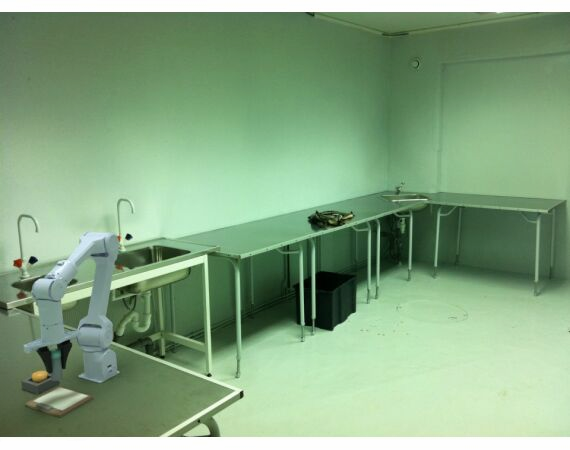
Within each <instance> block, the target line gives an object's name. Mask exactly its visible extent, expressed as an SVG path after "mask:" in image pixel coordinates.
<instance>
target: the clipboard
mask: <svg viewBox="0 0 570 450" xmlns="http://www.w3.org/2000/svg"><path fill="white" fill-rule="evenodd" d="M92 400H94V396H93V395H90V394H87V393H84V392H83V393H82V392H80V391H79V392H78V391H76V390H72V389H69V388H66V387H62V386H57V387H55V388H54V387H53V388H51V389H49V391H47V392H45V393H44V392H43V394H42V393H41V394H39V396H36V397H34V398H33V399H31V400H29V401H27V402H25V403H24V406H25V407H26V408H30V409H33V410H36V411H39V412H42V413H45V414H48V415H50V416H54V417H56V418H62V417H64V416H66V415H68V414H69V413H71V412H73V411H75V410H76V409H78V408H80V407H82V406H84V405H85V404H88V402H90V401H92Z"/></svg>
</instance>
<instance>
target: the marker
mask: <svg viewBox="0 0 570 450" xmlns="http://www.w3.org/2000/svg"><path fill="white" fill-rule="evenodd" d="M49 350H50V351H51V352H52V353H51V365H52V373H51V380H52V381H59V382H60V381H61V380H63V378H64V374H63V372H64V371H63V369H62V362H61V349H58V348H57V347H56V348H52V349H49Z"/></svg>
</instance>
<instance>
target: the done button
mask: <svg viewBox="0 0 570 450" xmlns="http://www.w3.org/2000/svg"><path fill="white" fill-rule="evenodd" d="M47 373H48V372H47V371H46V370H38V371H35V372H32V374H31V376H32V381H33V382H35V383H40V382H43V381H45V380H47V379H48V378H47Z"/></svg>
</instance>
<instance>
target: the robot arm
mask: <svg viewBox="0 0 570 450" xmlns="http://www.w3.org/2000/svg"><path fill="white" fill-rule="evenodd" d="M78 242H79V243H78V245H77V246H76V248H75V249H74V250H73V251H72V253H71V255H69V256H68V258H67V259H62V260H58V262H56V265H55V266H54V267H53V268H52V269H51V270H50V271H49V272H48V273H47V274H46V275H45V276H44V278H43V277H42V278H38V279H37V280H36V281H34V283H33V284H32V287H31V291H30V295H31V297H32V299H34V302H35V303H34V304H35V306H36V307H37V311H38V319H39V320H38V322H39V327H40V328H39V329H40V337H41V338H38V339H36V340H33V341H31V342H29V343H26V344H23V352H24V353H25V354H27V355H28V354H31V353H32V352H34V351H36V353H37V355H39V357H40V359H41V361H42V363H43V365H44V368H45V371H47V373H49V374H51V373H52V365H51V353H52V352H51V351H50V350H51V349H50V348H49V347H51V346H52V347H53V346H55V345H56V348H58V349H61V362H62V370H66V368H67V361H68V357H69V354H70V352H71V350H72V348H73V342H72V341H75V343H76V345H78V346H79V349H80V350H82V359H83V360H82V361H83V370H84V371H83V372H82V373H80V374H79V375H77V376H78V379H82V380H86V381H90V382H93V383H97V384H102V383H104V382H105V381H108V380H109V379H111V378H113V377H114V376H117V375H118V374H120V371H119V370H118V364H117V354H116V352H115V351H114V350H112V349H111V348H109V347H110V346H111V344H112V343H113V339H114V333H113V331H114V330H113V327H114V324H113V322H112V321H111V320H110V319H109V318H108V317H107V313H108V312H107V311H108V305H109V298H110V293H111V285H112V280H113V274H114V269H115V262H116V261H117V259H118V254H119V249H120V248H119V247H120V240H119V237H118V236H117V234H116V233H115V232H113V231H112V232H95V231H94V232H92V231H85V232H83V234H82V235H81V236H80V237H79V241H78ZM88 258H90V259H91V260H92V261H94V263H95V270H94V276H93V277H94V278H93V281H92V282H93V283H92V288H91V294H90V300H89V306H88V312H87V315H85V316H84V317H82V318H81V319H80V320H79V322H78V327H77V329H76V330H72V331H65V329H64V328H65V327H64V318H63V306H62V305H63V303H62V299H63V298H64V296H65V295H66V294H65V293H66V291H67V290H66V289H67V288H68V285H69V284H70V282H71V281H72V280H73V279H74V278H75V277H76V276H77V274H78V268H79V267H80V266H81V265H83V263H84V262H85V261H86V260H87V259H88ZM95 325H96V326H95ZM97 325H98V326H97Z"/></svg>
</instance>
